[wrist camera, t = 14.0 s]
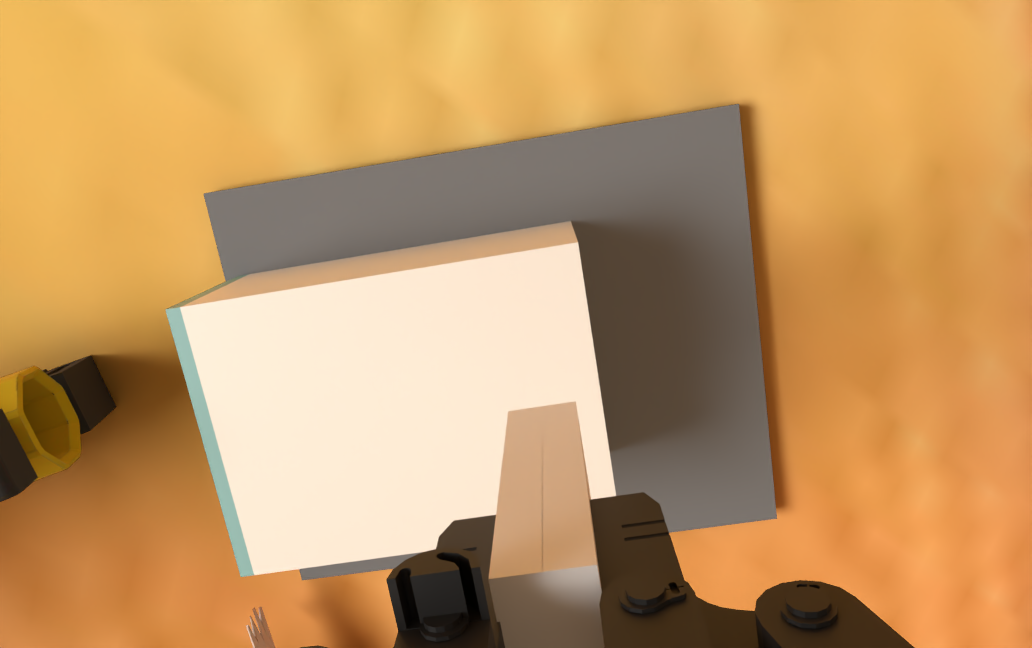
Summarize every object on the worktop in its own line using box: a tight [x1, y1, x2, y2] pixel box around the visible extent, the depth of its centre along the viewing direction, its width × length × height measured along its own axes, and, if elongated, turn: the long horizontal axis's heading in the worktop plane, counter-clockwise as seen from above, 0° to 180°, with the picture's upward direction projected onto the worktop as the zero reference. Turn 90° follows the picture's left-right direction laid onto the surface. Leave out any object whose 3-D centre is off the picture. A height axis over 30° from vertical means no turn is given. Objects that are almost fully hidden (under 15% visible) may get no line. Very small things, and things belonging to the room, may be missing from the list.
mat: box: [204, 104, 777, 580], centre depth 26 cm, size 14×17×1 cm
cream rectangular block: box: [166, 221, 616, 577], centre depth 23 cm, size 8×5×11 cm
